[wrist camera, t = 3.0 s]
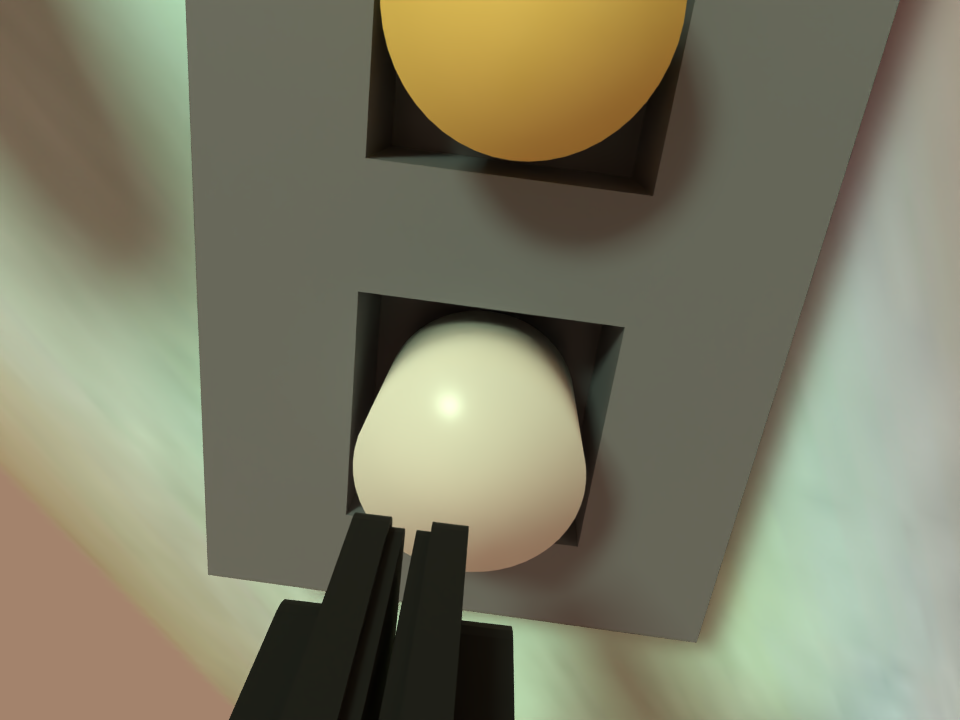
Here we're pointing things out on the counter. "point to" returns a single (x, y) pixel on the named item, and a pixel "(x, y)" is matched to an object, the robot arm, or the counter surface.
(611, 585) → the panel
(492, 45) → the amber button
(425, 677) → the robot arm
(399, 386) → the ivory button
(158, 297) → the counter surface
